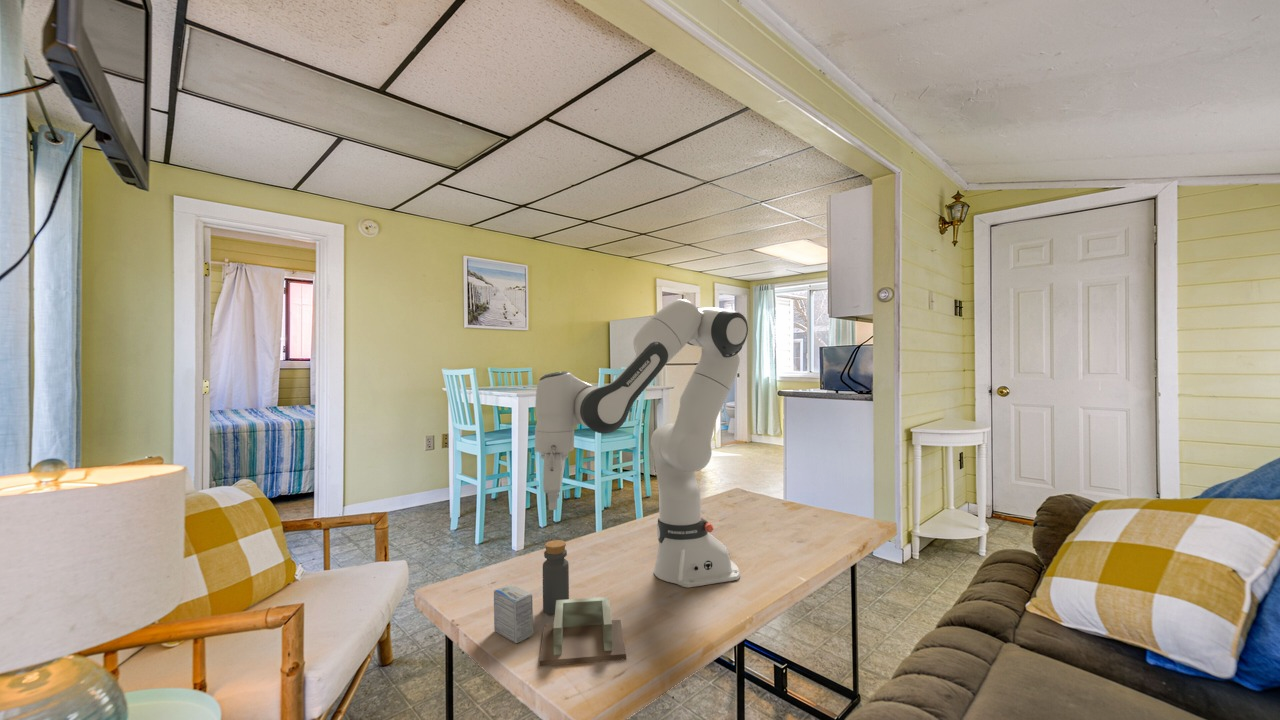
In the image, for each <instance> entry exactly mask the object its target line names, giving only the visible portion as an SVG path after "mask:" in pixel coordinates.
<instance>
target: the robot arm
mask: <svg viewBox="0 0 1280 720" xmlns="http://www.w3.org/2000/svg"><path fill="white" fill-rule="evenodd" d="M748 333H749V325H748V320H747V319H746V317H745V315H744V314H742V313H740V312H739V311H737V310H735V309H734V310H733V309H731V308H730V309H729V308H721V307H713V306H711V307H697V306H696V305H695V304H694V303H693V302H691V301H690V300H687V299H685V298H683V299H681V298H680V299H676V300H674V301H672V302H670V303H668V304H667V305H666V306H664V307H663V308H661V309H660V310H658V311H657V312H656V313H655V314H653V316H652V317H650V318H649V319H648V320H647V321H646V322H645V323H644V324H643V325H642V326H641V327H640V328H639V330H638V331H637V332H636V335H635V336H634V337H633V350H634V352H635V356H634V358H633V359H632V361H631V362H630V363H629V365H628V366H626V367H625V369H624V370H623V371H622V372H621V373H620V374H619V375H617V377H616V378H615V379H614V380H613V381H612V382H611V383H608V384H606V385H603V386H597V385H593V384H591V383H588V382H586V381H584V380H581V379H579V378H578V377H576V376H575V375H573V374H572V372H570V371H559V372H558V371H556V372H550V373H547V374H544V375H543V376H541V377H540V378H539V379H538V381H537V385H536V390H535V391H536V392H535V402H534V403H535V405H534V407H535V409H534V410H535V415H536V424H535V428H534V451H535V452H537V453H540V456H539V457H540V459H542V460H543V473H542V475H543V477H542V489H543V490H542V491H543V493H545V494H547V501H548V509H549V511H556V510H557V508H558V499H559V498H560V493H561V489H562V484H563V483H562V482H563V478H564V474H565V467H566V460H567V459H568V458H569V453H570V452H572V451H574V450H575V426H577V425H582V426H584V427H587V428H589V430H592V431H593V432H595V433H598V434H605V435H606V434H611V433H613V432H616V431H618V430H619V429H620V428H621V427H622V426H623V424H624V423H625V422H626V420H627V419H628V418H627V417H628V416H629V413H630V411H631V409H632V407H633V404H634V402H635V401H637V399H638V397H640V395H641V394H642V393H643V392H644V391H645V389H647V387H648V386H649V385H650V384H651V383H652V381H653V380H654V379H655V378H656V377H657V376H658V374H659V373H661V371H662V370H663V369H664V367H665V366H666V365H667V364H668V363H669V362H670V361H671V360H672V359H673V358H674V357H675V356H676V355H678V353H679V352H681V350H682V349H683V348H684V347H685V346H686V345H687V344H688V345H690V346H695V347H698V348H701V356H700V359H699V361H698V363H697V364H696V366H695V368H694V370H693V372H692V374H691V375H690V378H689V380H688V381H687V383H686V386H685V387H684V390H683V391H682V394H681V395H680V398H679V407H678V413H677V416H676V419H675V422H674V423H666V424H663V425H660V426H658V427H657V428H656V429H655V430H654V431H653V432H652V434H651V438H650V446H651V449H652V453H653V459H654V460H653V461H654V462H653V463H654V467H655V469H654V470H655V474H656V479H657V485H658V487H657V488H658V506H659V507H658V514H659V516H658V518H657V531H656V532H657V540H658V546H657V555H656V562H655V566H654V569H653V574H654V575H655V576H656V577H657V578H658V579H660V580H661V581H664V582H668V583H671V584H676V585H679V586H680V587H683V588H694V587H701V586H706V585H712V584H719V583H726V582H731V581H737V580H739V579H740V576H741V571H740V568H739V567H738V565H737V564H736V563H735V562H734V561H733V560H731V558H730V557H731V556H730V553H729V550H728V548H727V547H726V545H724V543H722V541H720V540H718V539H717V538H716V537H715V536H714V535H712V534H711V533H712V532H713V531H714V526H713V524H712V523H711V522H708V520H706V519H704V517H702V513H701V512H702V510H701V507H702V506H701V488H700V485H699V483H698V479H697V476H696V472H698V471H701V470H702V469H704V468H705V467H707V465H708V464H709V463H710V460H711V459H712V458H711V457H712V446H711V445H712V438H713V436H714V435H713V433H714V429H715V426H716V422H717V419H718V416H719V414H720V411H721V409H722V408H723V405H724V403H725V401H726V399H727V397H728V394H729V392H730V391H731V389H732V386H733V384H734V381H735V379H736V376H737V372H738V370H739V367H740V366H739V365H740V359H741V358H740V355H739V354H738V353H740V351H741V350H742V349H743V346H744V344H745V343H746V341H747V337H748V335H749V334H748Z"/></svg>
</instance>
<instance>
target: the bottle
mask: <svg viewBox="0 0 1280 720" xmlns="http://www.w3.org/2000/svg"><path fill="white" fill-rule="evenodd" d="M566 544H567V542H566V541H564V540H562V539H561V540H560V539H557V540H550V541H547V542H545V544H544V548H545V550H544V552H543V556H544V558H545V559H546V560H545V561H544V562H543V563H542V610H543V613H544V614H545V615H547V616H552V617H555V608H556V600H567V599H570V586H569V585H570V580H569V579H570V577H569V576H570V572H569V569H570V567H569V566H570V565H569V561H568V560H567V559H566V557H567V556H568V555H567V554H568V550H567V549H566Z"/></svg>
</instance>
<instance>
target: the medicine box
mask: <svg viewBox="0 0 1280 720" xmlns="http://www.w3.org/2000/svg"><path fill="white" fill-rule="evenodd" d="M533 605H534V604H533V594H532V593H531V592H529V591H527V590H524V589H523V588H521V587H519V586H516V585H515V584H512V583H510V584H509V583H508V584H507V585H504V586H501V587H499V588H497V589H495V590H493V620H494V621H493V622H494V623H493V626H494V629H493V630H494V631H495V632H496V633H498V634H499V635H500V636H503V637H505V638H506V639H508V640H509V641H510V642H513V643H514V644H518V643H520V642H523V641H524V640H526V639H528V638H530V637H533V636H534V609H533Z"/></svg>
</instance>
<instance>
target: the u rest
mask: <svg viewBox="0 0 1280 720" xmlns="http://www.w3.org/2000/svg"><path fill="white" fill-rule="evenodd" d="M624 639H625V637H624V633H623V627H622V621H621V619H612V613H611V606H610V597H609V596H599V597H598V596H597V597H585V598H584V597H583V598H569V599H567V600H556V608H555V616H554V620H553V623H552V624H544V626H543V633H542V639H541V640H542V641H541V642H542V643H541V648H540V655H539V667H544V666H545V667H548V666H560V665H573V664H583V663H584V664H585V663H596V662H598V663H599V662H607V661H608V662H609V661H621V660H622V659H623V660H627V651H626V645H625V640H624Z"/></svg>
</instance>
